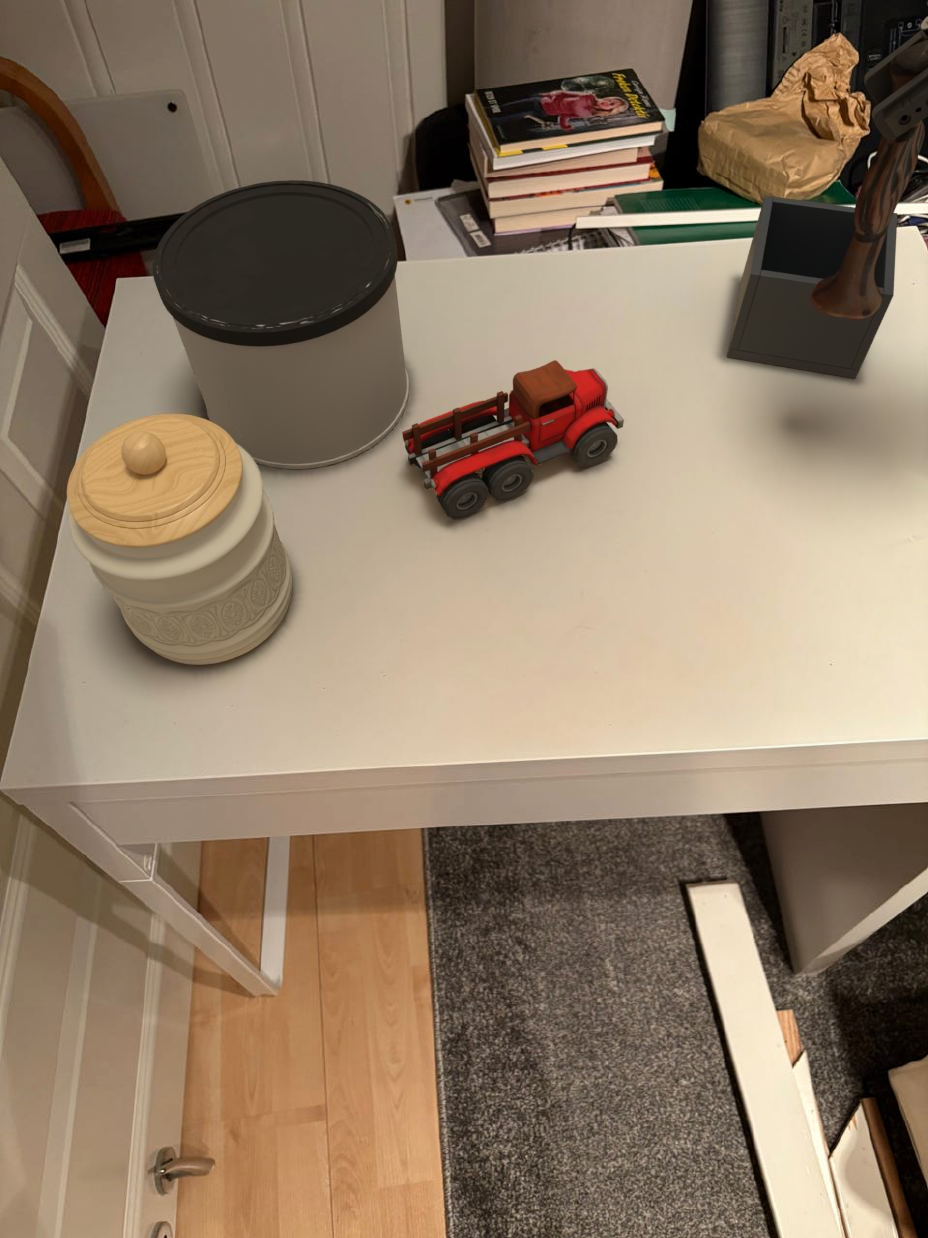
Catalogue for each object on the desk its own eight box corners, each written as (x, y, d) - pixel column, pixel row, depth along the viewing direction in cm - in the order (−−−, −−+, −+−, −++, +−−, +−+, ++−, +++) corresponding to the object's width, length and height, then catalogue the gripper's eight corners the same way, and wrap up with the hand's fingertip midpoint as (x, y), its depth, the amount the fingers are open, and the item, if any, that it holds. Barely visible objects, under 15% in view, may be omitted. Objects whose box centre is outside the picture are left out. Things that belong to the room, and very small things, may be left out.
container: (180, 463, 77) (118, 323, 64) (234, 320, 87) (190, 173, 74) (393, 478, 75) (373, 336, 63) (424, 330, 85) (412, 182, 73)
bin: (861, 297, 86) (897, 212, 78) (855, 378, 80) (893, 295, 73) (741, 279, 88) (764, 194, 80) (726, 357, 82) (750, 273, 75)
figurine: (852, 342, 64) (952, 80, 49) (788, 317, 66) (865, 57, 50) (895, 287, 67) (1002, 23, 51) (832, 264, 68) (917, 3, 53)
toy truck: (626, 452, 76) (639, 380, 69) (438, 530, 72) (432, 461, 65) (579, 395, 80) (587, 321, 73) (398, 465, 76) (389, 394, 69)
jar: (119, 676, 66) (9, 529, 51) (140, 538, 73) (48, 373, 58) (293, 662, 66) (235, 512, 51) (298, 525, 73) (248, 358, 58)
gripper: (1148, -264, 45) (830, 8, 56) (1246, -160, 37) (856, 129, 49) (1195, -137, 49) (888, 94, 60) (1293, -19, 41) (921, 218, 53)
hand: (876, 108), depth 55 cm, fingers closed on figurine, 3 cm apart
